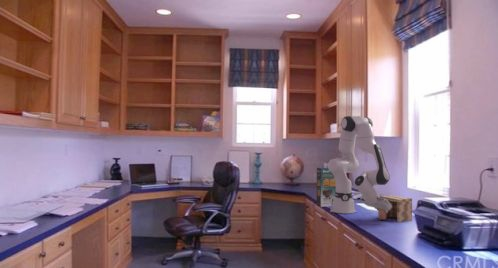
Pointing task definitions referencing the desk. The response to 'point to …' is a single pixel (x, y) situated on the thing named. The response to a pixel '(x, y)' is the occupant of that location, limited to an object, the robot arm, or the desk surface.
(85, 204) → the desk surface
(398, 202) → the wooden shelf
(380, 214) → the peach rounded capsule
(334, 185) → the cake mix box
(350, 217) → the desk surface
